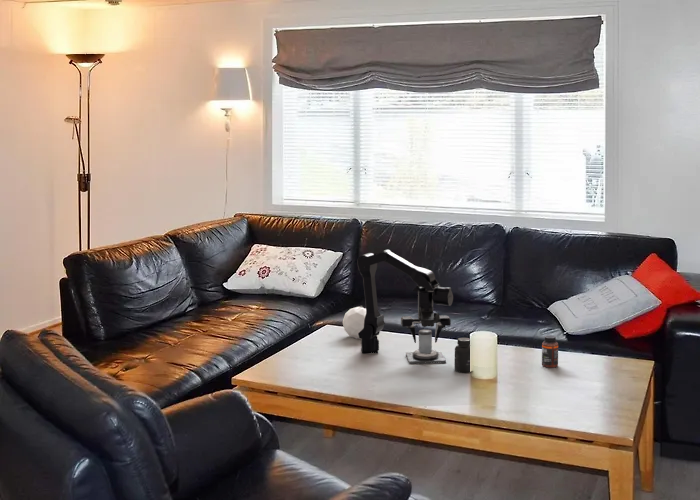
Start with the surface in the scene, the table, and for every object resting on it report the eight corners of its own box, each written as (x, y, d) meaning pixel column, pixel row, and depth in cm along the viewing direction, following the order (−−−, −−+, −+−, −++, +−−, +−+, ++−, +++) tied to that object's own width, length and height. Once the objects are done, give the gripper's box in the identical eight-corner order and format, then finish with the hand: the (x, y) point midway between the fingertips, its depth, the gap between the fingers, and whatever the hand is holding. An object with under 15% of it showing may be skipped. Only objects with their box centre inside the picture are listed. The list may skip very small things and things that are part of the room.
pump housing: (419, 353, 315) (419, 333, 313) (418, 349, 320) (417, 329, 318) (432, 353, 315) (432, 332, 314) (430, 349, 320) (430, 329, 319)
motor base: (409, 363, 312) (409, 356, 311) (405, 354, 324) (405, 347, 323) (445, 362, 312) (446, 355, 312) (441, 354, 324) (441, 346, 324)
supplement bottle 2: (558, 364, 309) (559, 335, 307) (557, 368, 303) (558, 339, 301) (542, 362, 311) (543, 333, 309) (540, 367, 305) (541, 337, 303)
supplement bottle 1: (472, 373, 299) (472, 342, 297) (453, 373, 300) (453, 341, 298) (473, 368, 305) (473, 337, 303) (455, 367, 307) (455, 336, 305)
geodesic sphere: (345, 317, 361) (342, 297, 351) (376, 318, 359) (374, 298, 349) (342, 344, 351) (339, 324, 342) (374, 345, 350) (371, 325, 340)
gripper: (403, 308, 306) (403, 349, 309) (453, 307, 307) (452, 347, 309) (400, 302, 317) (400, 341, 320) (448, 300, 318) (448, 340, 320)
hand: (425, 342), depth 317 cm, fingers open, 8 cm apart
